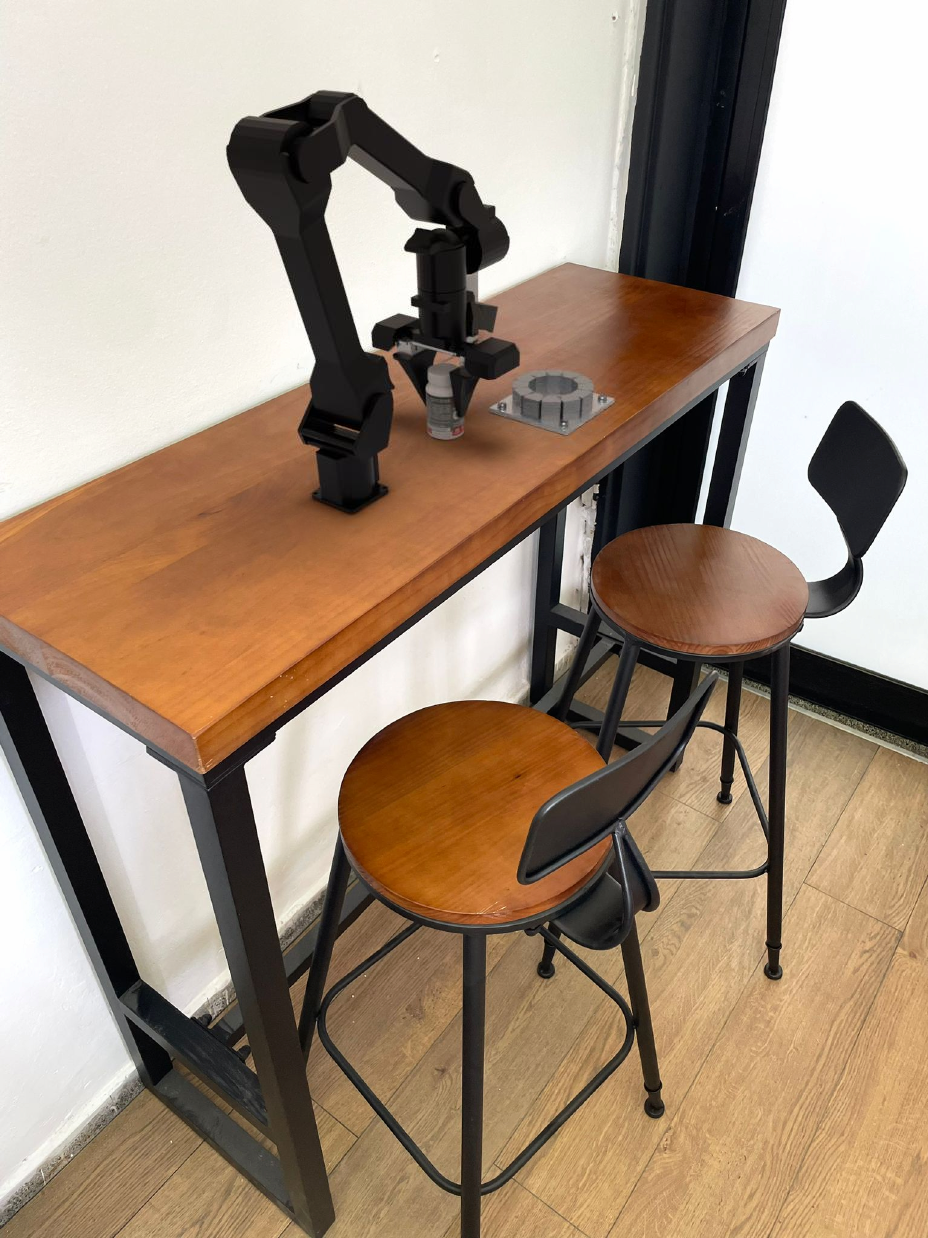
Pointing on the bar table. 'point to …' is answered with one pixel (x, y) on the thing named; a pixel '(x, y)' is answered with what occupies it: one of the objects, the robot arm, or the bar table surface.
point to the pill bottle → (442, 404)
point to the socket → (552, 400)
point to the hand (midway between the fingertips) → (445, 411)
